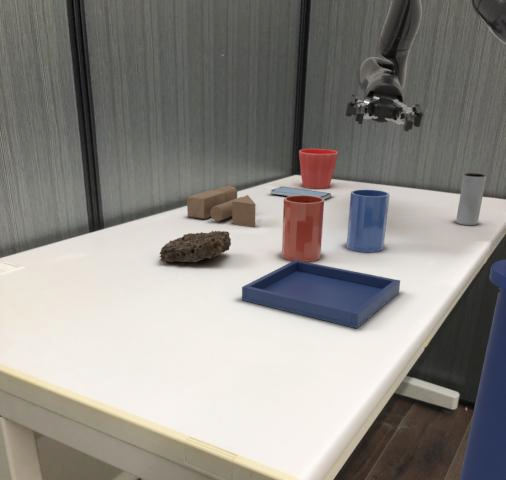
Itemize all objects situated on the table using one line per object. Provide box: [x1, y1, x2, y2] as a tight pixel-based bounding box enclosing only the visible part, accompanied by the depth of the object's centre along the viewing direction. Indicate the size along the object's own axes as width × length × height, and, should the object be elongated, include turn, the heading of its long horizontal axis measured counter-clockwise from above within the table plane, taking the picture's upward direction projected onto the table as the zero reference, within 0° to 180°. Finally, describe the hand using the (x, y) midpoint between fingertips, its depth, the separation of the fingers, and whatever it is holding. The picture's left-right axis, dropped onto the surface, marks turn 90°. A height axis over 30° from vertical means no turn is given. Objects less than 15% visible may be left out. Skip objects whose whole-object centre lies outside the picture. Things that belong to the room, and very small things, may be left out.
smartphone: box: [270, 186, 332, 200], centre depth 150 cm, size 7×1×15 cm
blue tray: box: [241, 260, 401, 329], centre depth 82 cm, size 18×16×2 cm
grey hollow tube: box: [455, 172, 487, 226], centre depth 123 cm, size 4×4×10 cm
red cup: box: [281, 195, 325, 263], centre depth 99 cm, size 7×7×10 cm
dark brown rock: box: [159, 230, 232, 263], centre depth 97 cm, size 12×10×5 cm
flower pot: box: [298, 148, 339, 190], centre depth 161 cm, size 11×11×10 cm
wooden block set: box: [186, 185, 256, 228], centre depth 128 cm, size 17×6×18 cm
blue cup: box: [346, 189, 390, 253], centre depth 105 cm, size 7×7×10 cm
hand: (384, 122), depth 104 cm, fingers open, 8 cm apart
